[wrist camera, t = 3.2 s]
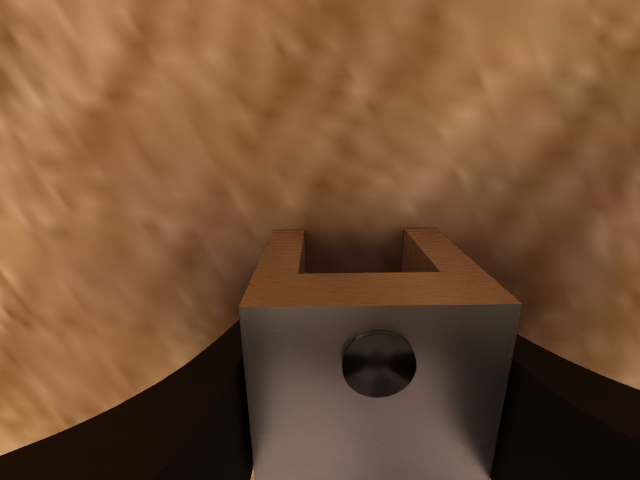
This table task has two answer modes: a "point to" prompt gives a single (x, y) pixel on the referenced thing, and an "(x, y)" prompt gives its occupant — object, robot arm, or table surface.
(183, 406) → the robot arm
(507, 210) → the table surface
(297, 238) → the notched block with hole
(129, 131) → the table surface
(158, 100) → the table surface
